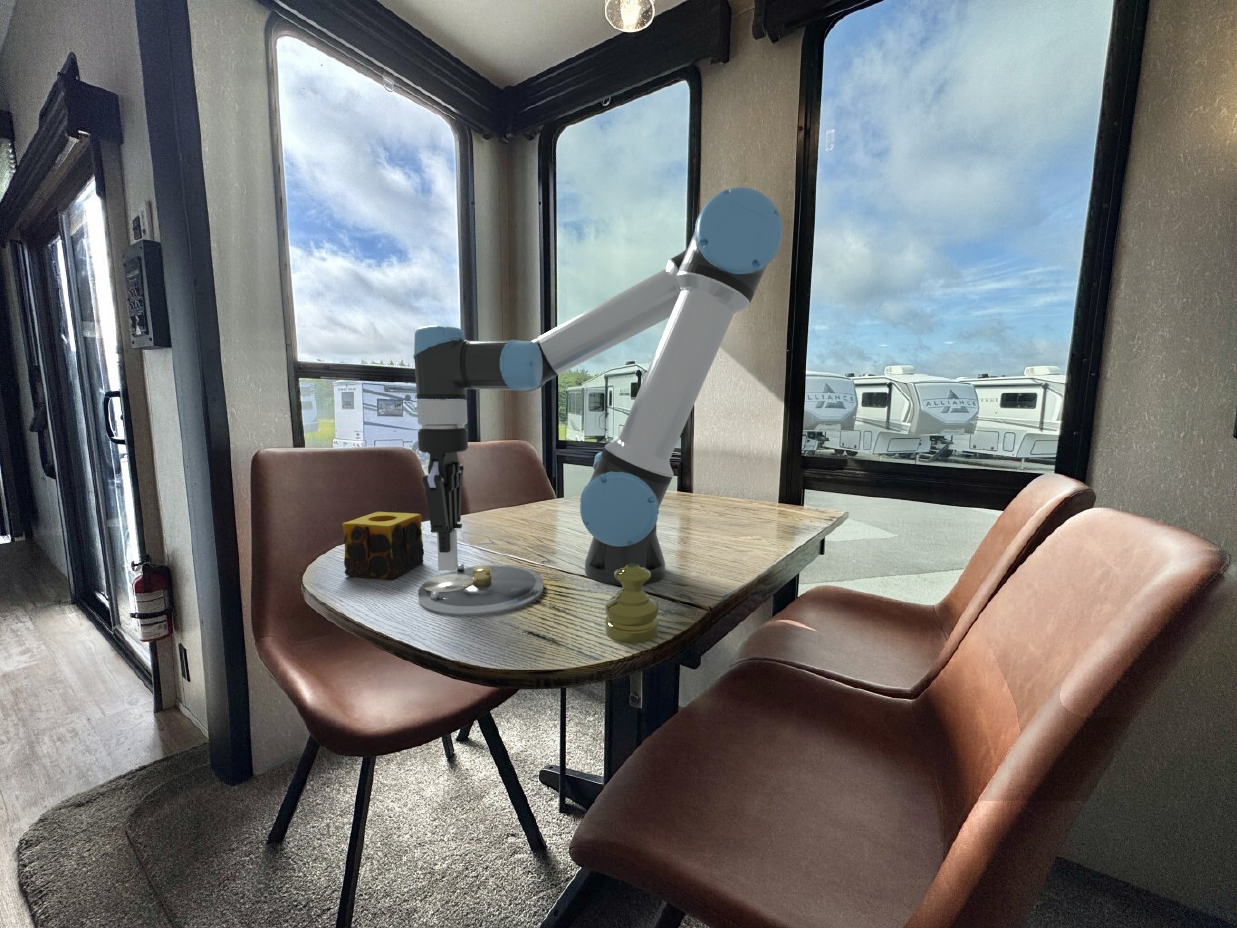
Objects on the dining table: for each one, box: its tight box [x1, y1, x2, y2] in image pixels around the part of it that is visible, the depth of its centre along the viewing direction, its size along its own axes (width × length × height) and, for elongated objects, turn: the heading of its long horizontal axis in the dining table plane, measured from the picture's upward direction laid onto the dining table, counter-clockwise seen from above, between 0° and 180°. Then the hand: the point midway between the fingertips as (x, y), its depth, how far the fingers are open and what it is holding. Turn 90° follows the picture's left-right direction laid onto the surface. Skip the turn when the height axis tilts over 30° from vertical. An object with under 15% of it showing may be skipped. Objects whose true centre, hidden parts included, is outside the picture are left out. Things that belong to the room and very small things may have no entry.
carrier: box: [417, 563, 544, 617], centre depth 84 cm, size 20×20×4 cm
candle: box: [342, 511, 425, 581], centre depth 95 cm, size 10×10×10 cm
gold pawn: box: [604, 563, 660, 644], centre depth 69 cm, size 7×7×10 cm
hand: (448, 568), depth 84 cm, fingers closed
